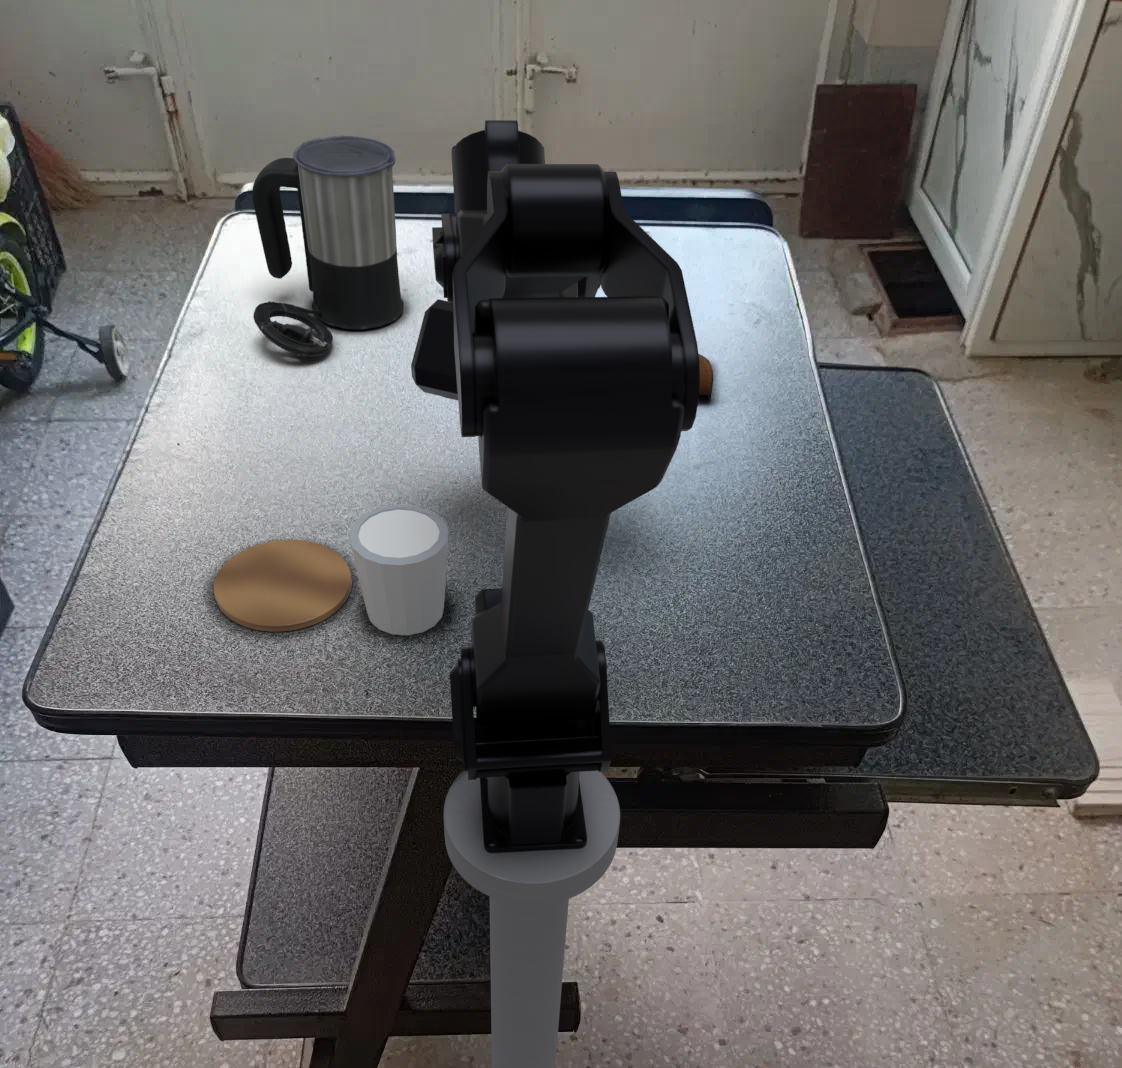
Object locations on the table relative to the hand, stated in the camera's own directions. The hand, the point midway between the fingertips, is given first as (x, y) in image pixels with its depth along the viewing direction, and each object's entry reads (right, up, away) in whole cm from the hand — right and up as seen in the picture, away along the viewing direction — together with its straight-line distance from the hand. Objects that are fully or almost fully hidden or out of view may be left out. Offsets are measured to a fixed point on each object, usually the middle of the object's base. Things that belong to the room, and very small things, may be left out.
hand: (568, 406), depth 85 cm
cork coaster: (-21, -15, -4) cm, 26 cm away
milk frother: (-23, +15, +23) cm, 36 cm away
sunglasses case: (+5, +9, +19) cm, 21 cm away
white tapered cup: (-12, -17, -5) cm, 21 cm away
